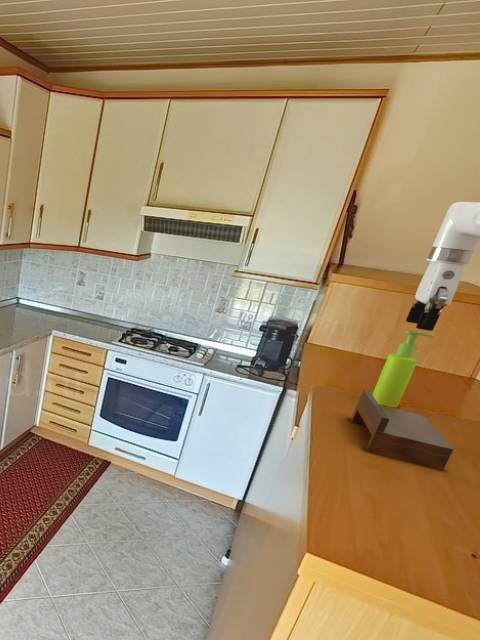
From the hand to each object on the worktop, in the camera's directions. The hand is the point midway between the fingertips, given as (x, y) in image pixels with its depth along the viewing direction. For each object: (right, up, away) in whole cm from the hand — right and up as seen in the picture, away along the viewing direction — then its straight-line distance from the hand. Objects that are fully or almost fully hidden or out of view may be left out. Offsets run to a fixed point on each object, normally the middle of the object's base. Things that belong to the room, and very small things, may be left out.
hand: (418, 326), depth 123 cm
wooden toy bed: (-22, -28, -18) cm, 40 cm away
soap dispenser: (-2, -20, +7) cm, 22 cm away
